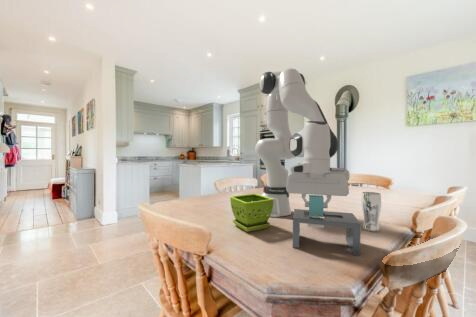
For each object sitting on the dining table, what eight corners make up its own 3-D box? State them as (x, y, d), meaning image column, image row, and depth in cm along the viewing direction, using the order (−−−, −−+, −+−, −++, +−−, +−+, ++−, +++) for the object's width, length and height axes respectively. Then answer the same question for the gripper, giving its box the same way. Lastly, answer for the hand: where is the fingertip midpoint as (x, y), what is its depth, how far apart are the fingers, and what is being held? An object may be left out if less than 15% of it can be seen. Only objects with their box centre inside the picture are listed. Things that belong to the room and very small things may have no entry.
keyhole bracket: (292, 247, 73) (292, 217, 73) (294, 234, 84) (294, 209, 84) (360, 255, 67) (360, 223, 67) (352, 241, 79) (352, 213, 78)
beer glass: (382, 229, 91) (383, 193, 91) (378, 233, 86) (379, 195, 86) (364, 225, 96) (364, 191, 96) (359, 229, 91) (359, 193, 91)
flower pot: (229, 224, 96) (229, 196, 96) (255, 220, 103) (255, 193, 103) (245, 235, 84) (245, 202, 84) (274, 229, 91) (274, 198, 91)
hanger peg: (308, 226, 75) (308, 197, 74) (308, 222, 79) (308, 194, 79) (324, 227, 73) (324, 197, 73) (322, 223, 78) (323, 195, 78)
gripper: (347, 167, 76) (347, 207, 76) (287, 166, 82) (287, 203, 82) (351, 168, 70) (350, 211, 70) (285, 167, 76) (285, 207, 76)
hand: (315, 207), depth 76 cm, fingers closed on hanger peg, 4 cm apart
